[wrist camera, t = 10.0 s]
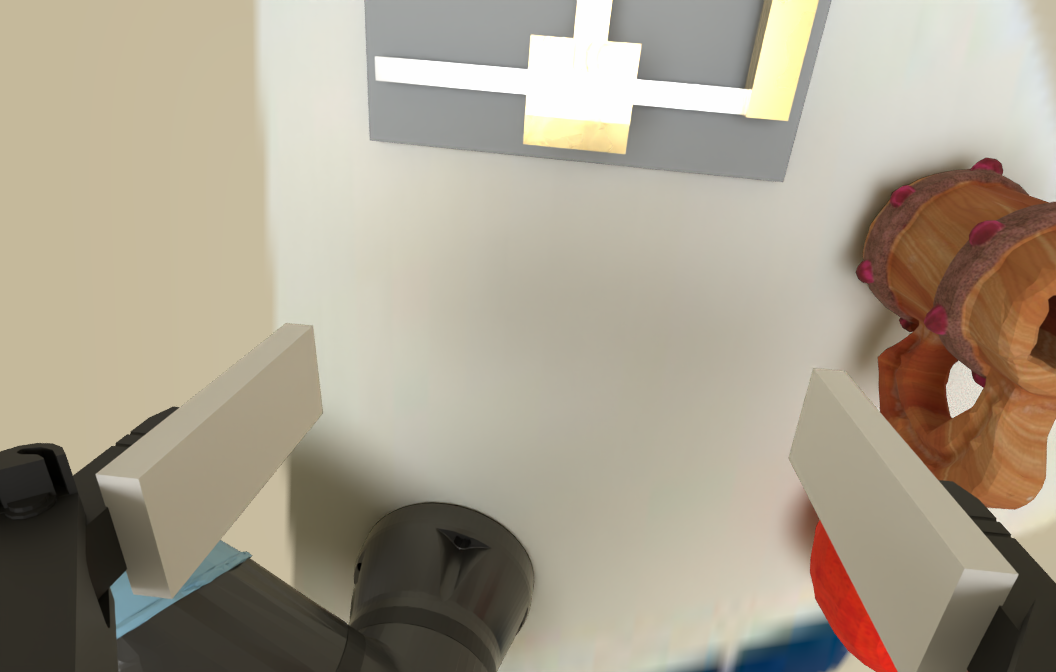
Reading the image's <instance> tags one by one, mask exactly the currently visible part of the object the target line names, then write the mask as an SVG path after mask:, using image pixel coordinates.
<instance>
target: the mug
mask: <svg viewBox="0 0 1056 672" xmlns="http://www.w3.org/2000/svg"><path fill="white" fill-rule="evenodd" d="M1002 174H1003V168H1002V164H1001V163H1000V162H999V161H998V160H996V159H992V158H985V159H982V160H980V161H978V162H977V163H976V164H975V165H974V166H973V167H972V168H971V169H967V170H954V171H948V172H943V173H938V174H934V175H931V176H927V177H924V178H921V179H919V180H917V181H915V182H913V183H911V184H910V185H905V186H902V187H900V188H899V189H897V190H895V191H894V192H893V193H892V195H891V198H890V200H889V201H888V203H887V204H886V205H885V206H884V207H883V209H882V210H881V211H880V212H879V214H878V215H877V216H876V218H875V219H874V220H873V222H872V223H871V225H870V228H869V232H868V235H867V237H866V240H865V244H864V249H863V260H864V261H862V262H861V263H860V264H859V265H858V267H857V270H856V274H857V277H858V279H859V280H860V281H862V282H864V283H868V285H869V288H870V290H871V291H872V292H873V294H874V295H875V296H876V297H877V298H878V299H879V301H880V302H881V303H882V304H883V305H884V306H885V307H886V308H888V309H889V310H891V311H892V312H894V313H895V314H897V315H898V316H899V317H900V320H899V321H900V324H901V326H902V327H903V328H904V329H905V330H907V331H908V332H913V333H911V334H910V335H909V336H907V337H906V338H905V339H903V340H902V341H900V342H899V343H897V344H895V345H894V346H892V347H890V348H887V349H886V350H885V351H884V352H883V353H882V354H881V355H880V356H879V357H878V368H879V398H880V413H881V414H882V415H883V416H884V417H885V419H886V420H887V421H888V422H889V423H890V425H891V426H892V427H893V428H894V429H895V430H896V432H897V433H898V434H899V435H900V436H901V437H902V439H903V440H904V441H905V442H906V443H907V444H908V446H909V447H910V448H911V449H912V450H913V451H914V453H915V454H916V455H917V456H918V457H919V458H920V460H921V461H922V462H923V463H924V464H925V465H926V467H927V468H928V469H929V470H930V471H931V472H932V474H933V475H934V476H935V477H936V478H937V479H938V480H944V481H953V482H955V483H956V484H957V485H959V486H960V487H962V488H963V489H965V490H966V491H968V492H969V493H971V494H972V495H974V496H975V497H976V498H978V499H979V500H980V501H981V502H982V503H983V504H984V505H985V506H986V507H988V508H1000V509H1017V508H1020V507H1022V506H1024V505H1027V504H1028V503H1029V502H1031V501H1032V500H1033V499H1034V498H1035V497H1036V495H1037V494H1038V493H1039V491H1040V490H1041V488H1042V487H1043V484H1044V481H1045V479H1046V459H1047V437H1048V434H1049V432H1050V430H1051V428H1052V425H1053V423H1054V421H1055V419H1056V202H1050V203H1049V202H1046V201H1043V200H1040V199H1037V198H1034V197H1031V196H1029V195H1028V194H1027V192H1026V191H1025V190H1024V189H1023V188H1022V187H1021V186H1020V185H1018V184H1017V183H1015V182H1013V181H1011V180H1010V179H1008V178H1006V177H1004V176H1002ZM958 360H959V361H960V362H961V363H963V364H964V365H965V366H967V367H968V368H969V369H971V371H972V376H973V379H974V381H975V382H976V383H977V384H979V385H980V386H982V387H983V388H984V389H983V390H982V392H981V394H980V396H979V397H978V399H977V401H976V403H975V404H974V406H973V407H972V408H970V409H968V410H967V411H965V412H963V413H961V414H959V415H958V416H956V417H954V418H951V416H950V412H949V407H948V402H947V397H946V384H947V382H948V378H949V373H950V369H951V368H952V366H953V364H955V363H956V362H957V361H958Z"/></svg>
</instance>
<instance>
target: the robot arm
mask: <svg viewBox="0 0 1056 672" xmlns="http://www.w3.org/2000/svg"><path fill="white" fill-rule="evenodd" d="M322 414H323V409H322V400H321V391H320V383H319V374H318V365H317V356H316V347H315V339H314V330H313V325H301V324H289V323H285V324H284V325H283V326H282V327H280V328H279V329H278V330H277V331H275V332H274V333H273V334H272V335H270V336H269V337H268V338H266V339H265V340H264V341H263V342H261V343H260V344H259V345H258V346H256V347H255V348H254V349H253V350H251V351H250V352H249V353H248V354H247V355H245V356H244V357H243V358H241V359H240V360H239V361H237V362H236V363H235V364H234V365H233V366H231V367H230V368H229V369H228V370H226V371H225V372H224V373H223V374H221V375H220V376H219V377H217V378H216V379H215V380H214V381H212V382H211V383H210V384H209V385H207V386H206V387H205V388H204V389H202V390H201V391H200V392H198V393H197V394H196V395H195V396H193V397H192V398H191V399H190V400H188V401H187V402H186V403H185V404H183V405H182V406H181V407H171V408H169V409H167V410H165V411H163V412H161V413H159V414H156V415H154V416H152V417H150V418H148V419H147V420H146V421H144V422H143V423H142V424H140V425H139V426H138V427H136V428H135V429H134V430H132V431H131V434H130V435H126V436H124V437H123V438H122V439H121V440H119V441H118V442H117V443H116V446H111V447H110V448H109V449H108V450H106V451H105V452H104V453H102V454H101V455H100V456H98V457H97V458H96V459H94V460H93V461H92V462H91V463H89V464H88V465H86V466H85V467H84V468H83V469H81V470H80V471H79V472H77V473H76V474H75V475H72V472H71V469H70V466H69V463H68V460H67V457H66V454H65V452H64V450H63V448H62V447H60V446H57V445H55V444H50V443H35V444H28V445H22V446H17V447H14V448H11V449H7V450H4V451H1V452H0V672H497V671H498V669H499V667H500V665H501V663H502V661H503V659H504V657H505V655H506V653H507V651H508V649H509V647H510V645H511V644H512V641H513V639H514V637H515V636H516V635H517V633H518V632H519V631H520V629H521V628H522V626H523V625H524V623H525V621H526V619H527V616H528V613H529V610H530V606H531V600H532V593H533V586H534V574H533V569H532V565H531V562H530V560H529V557H528V555H527V554H526V552H525V550H524V549H523V547H522V546H521V544H520V543H519V542H518V541H517V540H516V538H515V537H514V536H513V535H512V534H511V533H510V532H508V531H507V530H506V529H505V528H504V527H502V526H501V525H499V524H498V523H496V522H495V521H493V520H492V519H490V518H488V517H486V516H484V515H482V514H480V513H477V512H475V511H472V510H469V509H466V508H463V507H458V506H454V505H448V504H437V503H428V504H417V505H412V506H407V507H404V508H401V509H398V510H396V511H394V512H392V513H390V514H388V515H387V516H385V517H384V518H382V519H381V520H380V521H379V522H378V523H377V524H376V525H375V526H374V527H373V528H372V530H371V531H370V533H369V535H368V537H367V539H366V541H365V543H364V545H363V547H362V549H361V551H360V553H359V555H358V558H357V562H356V566H355V574H354V583H355V586H354V590H353V595H352V602H351V611H350V621H349V625H348V624H347V623H346V622H344V621H343V620H341V619H340V618H338V617H337V616H335V615H334V614H332V613H330V612H329V611H327V610H326V609H324V608H323V607H321V606H320V605H318V604H317V603H315V602H314V601H312V600H310V599H309V598H307V597H306V596H304V595H303V594H302V593H300V592H299V591H297V590H296V589H294V588H293V587H291V586H290V585H288V584H287V583H285V582H284V581H282V580H281V579H279V578H278V577H277V576H275V575H274V574H272V573H270V572H269V571H268V570H266V569H265V568H263V567H262V566H260V565H259V564H257V563H256V562H254V561H253V560H251V559H250V558H251V557H252V555H251V554H250V553H248V552H240V551H238V550H237V549H235V548H233V547H231V546H230V545H228V544H226V543H225V542H223V541H221V540H220V539H221V538H222V537H223V535H224V534H225V533H226V532H227V530H228V529H229V528H230V527H231V526H232V525H233V523H234V522H235V521H236V520H237V518H238V517H239V516H240V515H241V513H242V512H243V511H244V510H245V508H246V507H247V506H248V505H249V503H250V502H251V501H252V500H253V499H254V497H255V496H256V495H257V494H258V492H259V491H260V490H261V489H262V488H263V486H264V485H265V484H266V483H267V481H268V480H269V479H270V478H271V476H272V475H273V474H274V473H275V471H276V470H277V469H278V468H279V467H280V465H281V464H282V463H283V462H284V460H285V459H286V458H287V457H288V456H289V454H290V453H291V452H292V451H293V449H294V448H295V447H296V446H297V444H298V443H299V442H300V441H301V439H302V438H303V437H304V436H305V435H306V433H307V432H308V431H309V430H310V428H311V427H312V426H313V425H314V423H315V422H316V421H317V420H318V419H319V417H320V416H321V415H322ZM789 460H790V462H791V464H792V466H793V468H794V470H795V472H796V474H797V476H798V478H799V480H800V482H801V484H802V485H803V487H804V489H805V491H806V493H807V495H808V497H809V499H810V501H811V503H812V505H813V507H814V509H815V511H816V513H817V515H818V517H819V519H820V521H821V523H822V525H823V527H824V529H825V530H826V532H827V534H828V536H829V538H830V540H831V542H832V544H833V546H834V548H835V550H836V552H837V554H838V556H839V558H840V560H841V562H842V564H843V566H844V568H845V570H846V572H847V574H848V575H849V577H850V579H851V581H852V583H853V585H854V587H855V589H856V591H857V593H858V595H859V597H860V599H861V601H862V603H863V605H864V607H865V609H866V611H867V613H868V615H869V617H870V619H871V621H872V622H873V624H874V626H875V628H876V630H877V632H878V634H879V636H880V638H881V640H882V642H883V644H884V646H885V648H886V650H887V652H888V654H889V656H890V658H891V660H892V662H893V664H894V666H895V667H896V669H897V671H898V672H1056V583H1055V582H1054V581H1053V580H1052V579H1051V578H1050V577H1049V576H1048V574H1047V573H1046V572H1045V571H1044V570H1043V569H1042V568H1041V567H1040V566H1039V565H1038V563H1037V562H1036V561H1035V560H1034V559H1033V558H1032V557H1031V556H1030V555H1029V554H1028V552H1027V551H1026V550H1025V549H1024V548H1023V547H1022V546H1021V545H1020V544H1019V543H1018V542H1017V540H1016V539H1015V538H1011V534H1010V533H1009V532H1008V531H1007V529H1006V528H1005V527H1004V526H1003V525H1002V524H1001V523H1000V522H996V517H995V516H994V515H993V514H992V513H991V512H990V511H989V510H988V509H987V508H986V506H985V505H984V504H983V503H982V502H981V501H980V500H979V499H978V498H976V497H975V496H974V495H972V494H971V493H969V492H968V491H966V490H965V489H963V488H962V487H960V486H959V485H957V484H956V483H955V482H953V481H944V480H938V479H937V478H936V477H935V476H934V475H933V474H932V472H931V471H930V470H929V469H928V468H927V467H926V465H925V464H924V463H923V462H922V461H921V460H920V458H919V457H918V456H917V455H916V454H915V453H914V451H913V450H912V449H911V448H910V447H909V446H908V444H907V443H906V442H905V441H904V440H903V439H902V437H901V436H900V435H899V434H898V433H897V432H896V430H895V429H894V428H893V427H892V426H891V425H890V423H889V422H888V421H887V420H886V419H885V417H884V416H883V415H882V414H881V413H880V412H879V410H878V409H877V408H876V407H875V406H874V405H873V403H872V402H871V401H870V400H869V399H868V398H867V396H866V395H865V394H864V393H863V392H862V391H861V389H860V388H859V387H858V386H857V385H856V384H855V382H854V381H853V380H852V379H851V378H850V377H849V375H848V374H847V373H846V372H845V371H840V370H828V369H817V368H813V371H812V375H811V379H810V382H809V386H808V389H807V393H806V397H805V400H804V404H803V408H802V411H801V415H800V418H799V422H798V426H797V429H796V433H795V437H794V440H793V444H792V448H791V451H790V455H789Z"/></svg>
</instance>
